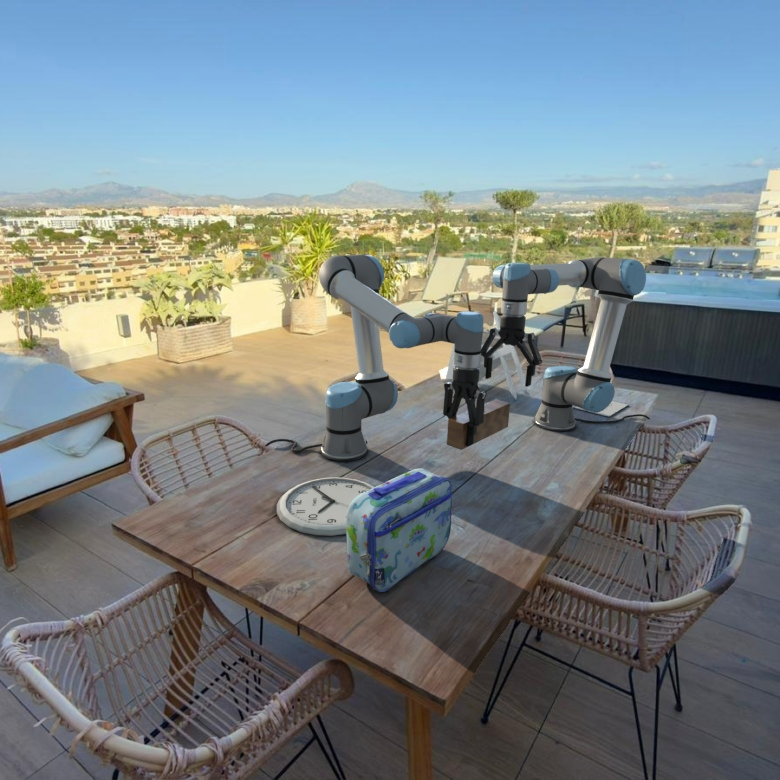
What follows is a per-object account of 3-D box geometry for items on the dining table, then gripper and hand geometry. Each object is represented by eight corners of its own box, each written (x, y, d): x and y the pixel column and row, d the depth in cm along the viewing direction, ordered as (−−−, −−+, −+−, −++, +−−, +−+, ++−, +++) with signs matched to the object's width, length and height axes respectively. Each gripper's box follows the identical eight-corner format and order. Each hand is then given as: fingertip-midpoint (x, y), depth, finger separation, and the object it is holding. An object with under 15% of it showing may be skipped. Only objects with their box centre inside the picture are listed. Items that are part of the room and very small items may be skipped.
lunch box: (374, 604, 105) (375, 512, 99) (340, 579, 113) (339, 492, 106) (455, 552, 123) (460, 471, 117) (421, 533, 130) (424, 456, 124)
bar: (493, 422, 173) (495, 399, 171) (507, 426, 170) (510, 403, 167) (446, 444, 155) (448, 419, 152) (461, 450, 152) (463, 423, 149)
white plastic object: (461, 429, 252) (437, 405, 227) (444, 352, 274) (420, 323, 250) (535, 404, 240) (518, 377, 215) (510, 326, 262) (492, 293, 237)
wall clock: (392, 527, 129) (268, 531, 127) (391, 533, 130) (269, 537, 127) (383, 473, 158) (282, 475, 155) (383, 478, 158) (282, 480, 156)
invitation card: (608, 416, 214) (573, 407, 224) (608, 416, 214) (573, 408, 224) (628, 404, 229) (594, 396, 238) (628, 405, 229) (594, 397, 238)
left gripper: (433, 362, 152) (429, 436, 159) (486, 376, 140) (479, 455, 147) (448, 358, 157) (444, 430, 164) (501, 371, 145) (494, 447, 152)
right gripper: (471, 312, 164) (467, 377, 170) (548, 321, 150) (541, 391, 156) (482, 309, 170) (478, 372, 176) (557, 317, 155) (550, 386, 162)
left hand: (461, 441), depth 156 cm, fingers closed on bar, 5 cm apart
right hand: (507, 381), depth 166 cm, fingers open, 13 cm apart
